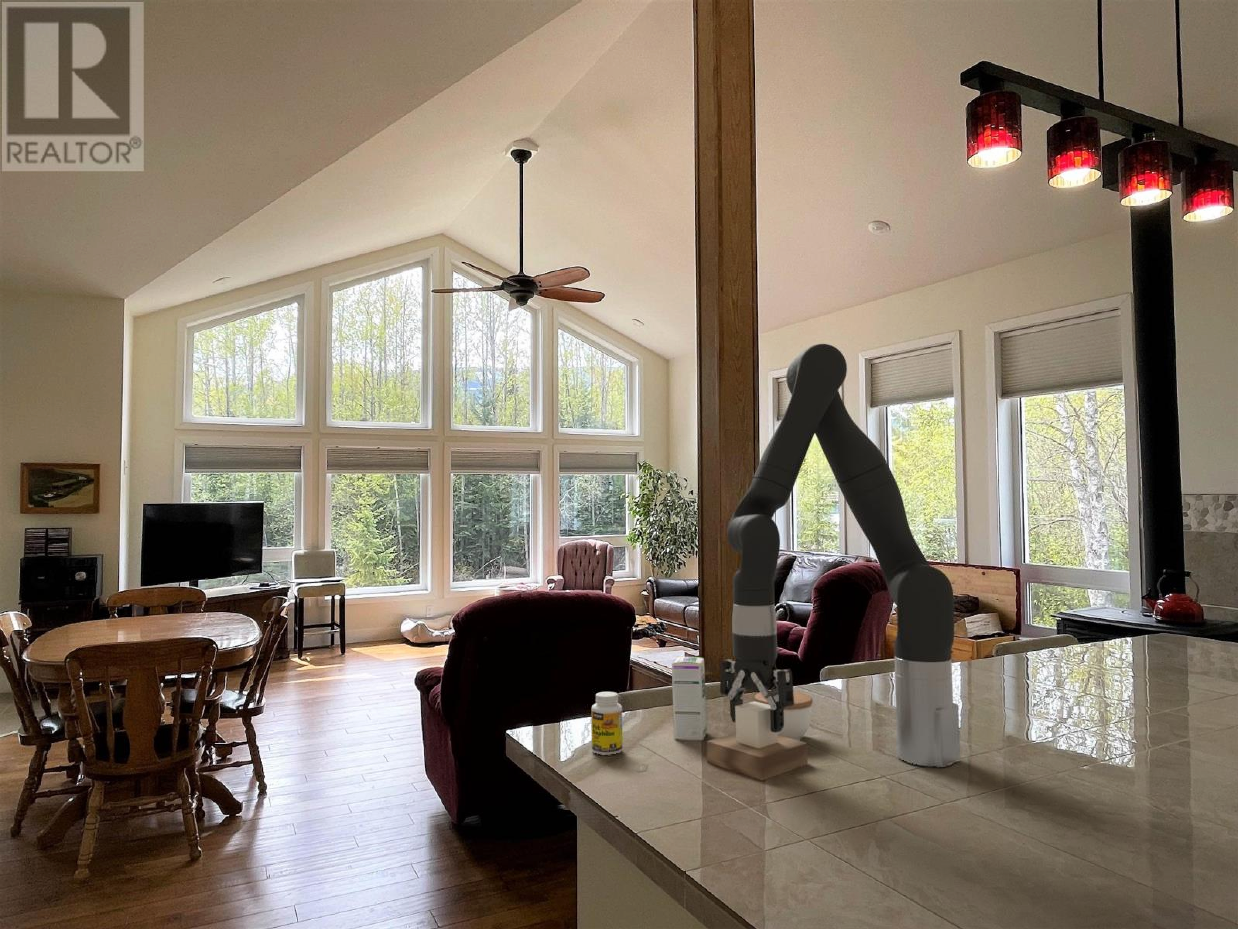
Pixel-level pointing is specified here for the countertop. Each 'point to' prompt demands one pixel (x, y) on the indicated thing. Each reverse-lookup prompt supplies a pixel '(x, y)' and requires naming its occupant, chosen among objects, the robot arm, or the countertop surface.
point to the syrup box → (689, 698)
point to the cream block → (754, 725)
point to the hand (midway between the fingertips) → (756, 726)
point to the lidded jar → (794, 715)
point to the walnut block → (757, 756)
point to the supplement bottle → (606, 724)
